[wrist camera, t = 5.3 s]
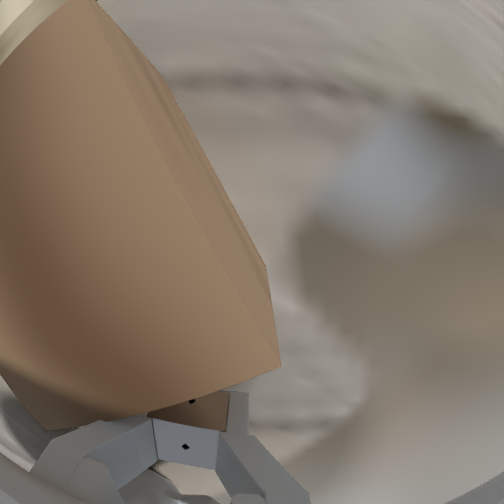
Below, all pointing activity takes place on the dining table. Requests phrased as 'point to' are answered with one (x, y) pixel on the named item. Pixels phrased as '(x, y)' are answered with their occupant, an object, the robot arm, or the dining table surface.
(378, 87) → the dining table surface
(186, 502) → the teacup
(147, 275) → the block
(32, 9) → the beige long bar
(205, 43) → the dining table surface
